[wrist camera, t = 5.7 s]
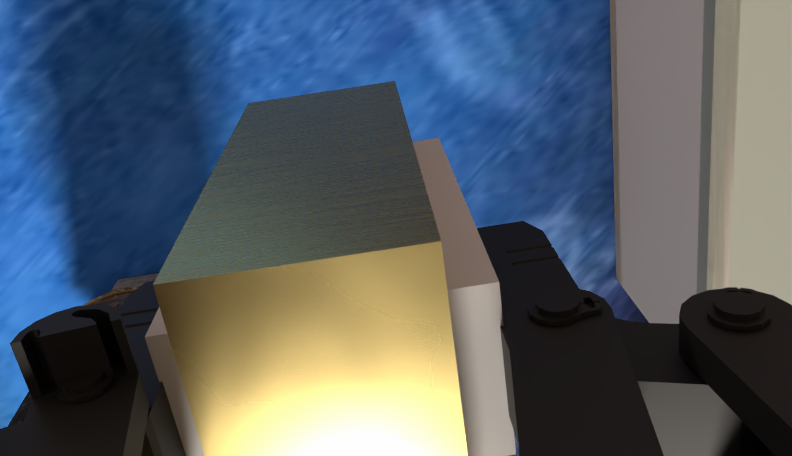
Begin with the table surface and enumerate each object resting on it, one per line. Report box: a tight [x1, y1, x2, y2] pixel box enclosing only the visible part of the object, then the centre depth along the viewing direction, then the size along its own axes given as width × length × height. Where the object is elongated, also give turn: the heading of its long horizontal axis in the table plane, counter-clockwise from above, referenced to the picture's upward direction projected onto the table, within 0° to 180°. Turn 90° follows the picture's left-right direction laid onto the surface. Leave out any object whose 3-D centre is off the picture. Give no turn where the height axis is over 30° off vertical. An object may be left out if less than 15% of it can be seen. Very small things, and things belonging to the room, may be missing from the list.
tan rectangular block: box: [153, 81, 468, 456], centre depth 12 cm, size 3×5×8 cm, turn 8°
